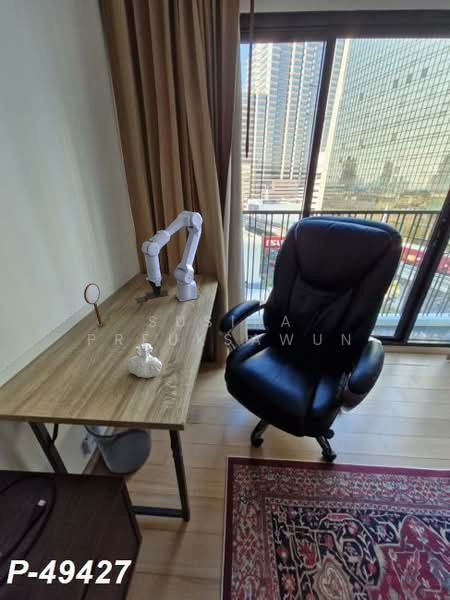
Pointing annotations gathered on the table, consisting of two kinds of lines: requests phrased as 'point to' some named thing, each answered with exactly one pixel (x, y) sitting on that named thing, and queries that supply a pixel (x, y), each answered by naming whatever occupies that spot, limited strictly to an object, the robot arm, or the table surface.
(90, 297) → the magnifying glass
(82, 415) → the table surface
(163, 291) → the spatula
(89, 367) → the table surface
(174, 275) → the robot arm
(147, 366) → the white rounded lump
